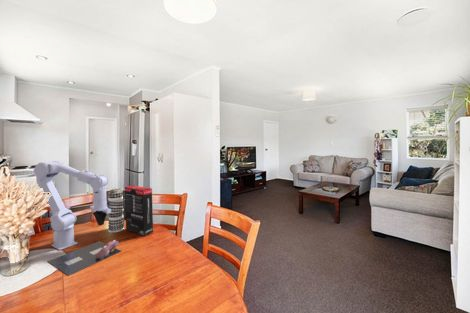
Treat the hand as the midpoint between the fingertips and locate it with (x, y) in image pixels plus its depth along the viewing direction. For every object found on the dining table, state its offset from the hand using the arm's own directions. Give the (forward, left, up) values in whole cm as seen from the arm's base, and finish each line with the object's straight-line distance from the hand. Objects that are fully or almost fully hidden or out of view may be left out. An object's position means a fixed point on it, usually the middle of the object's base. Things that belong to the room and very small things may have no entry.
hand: (100, 224), depth 109 cm
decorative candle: (-12, +15, -11) cm, 22 cm away
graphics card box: (+3, +20, -11) cm, 23 cm away
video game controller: (+13, -4, -10) cm, 17 cm away
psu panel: (+6, -10, -10) cm, 16 cm away
